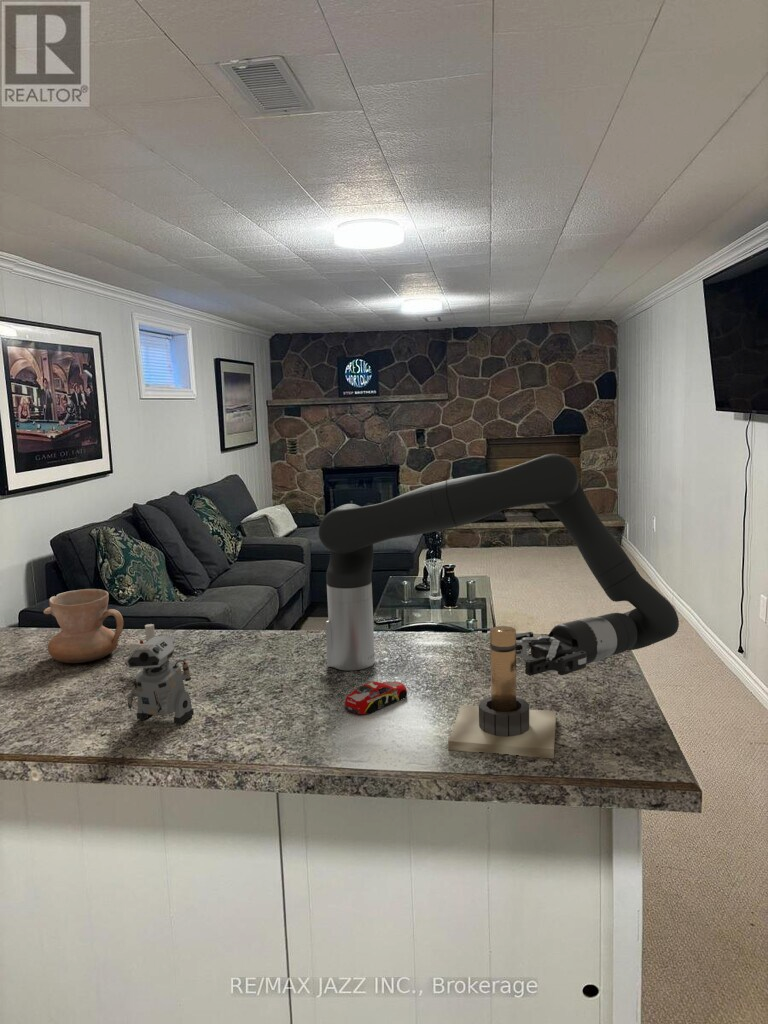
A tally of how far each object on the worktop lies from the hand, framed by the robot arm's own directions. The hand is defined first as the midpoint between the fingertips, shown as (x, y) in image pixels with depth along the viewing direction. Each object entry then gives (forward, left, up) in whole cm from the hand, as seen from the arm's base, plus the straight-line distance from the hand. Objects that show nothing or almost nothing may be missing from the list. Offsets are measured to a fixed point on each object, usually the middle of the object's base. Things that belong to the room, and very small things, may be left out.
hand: (509, 661), depth 121 cm
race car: (-25, +8, -13) cm, 29 cm away
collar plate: (-1, -1, -12) cm, 12 cm away
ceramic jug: (-95, +22, -12) cm, 98 cm away
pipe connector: (-75, +16, -12) cm, 78 cm away
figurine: (-60, -7, -12) cm, 61 cm away
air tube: (-1, -1, -11) cm, 11 cm away
